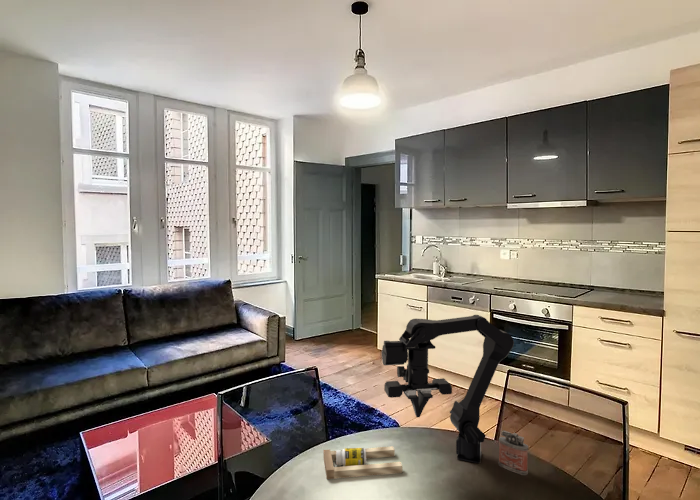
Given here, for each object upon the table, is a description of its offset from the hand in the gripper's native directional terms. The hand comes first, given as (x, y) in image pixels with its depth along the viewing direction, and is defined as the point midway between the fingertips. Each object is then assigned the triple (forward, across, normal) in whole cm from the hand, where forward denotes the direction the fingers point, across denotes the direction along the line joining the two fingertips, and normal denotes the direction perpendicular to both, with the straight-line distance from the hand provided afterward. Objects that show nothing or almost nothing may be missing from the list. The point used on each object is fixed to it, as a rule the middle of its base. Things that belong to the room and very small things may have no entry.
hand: (417, 416), depth 120 cm
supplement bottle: (+11, +15, 0) cm, 18 cm away
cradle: (+13, +16, 0) cm, 21 cm away
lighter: (+13, -25, +8) cm, 30 cm away
